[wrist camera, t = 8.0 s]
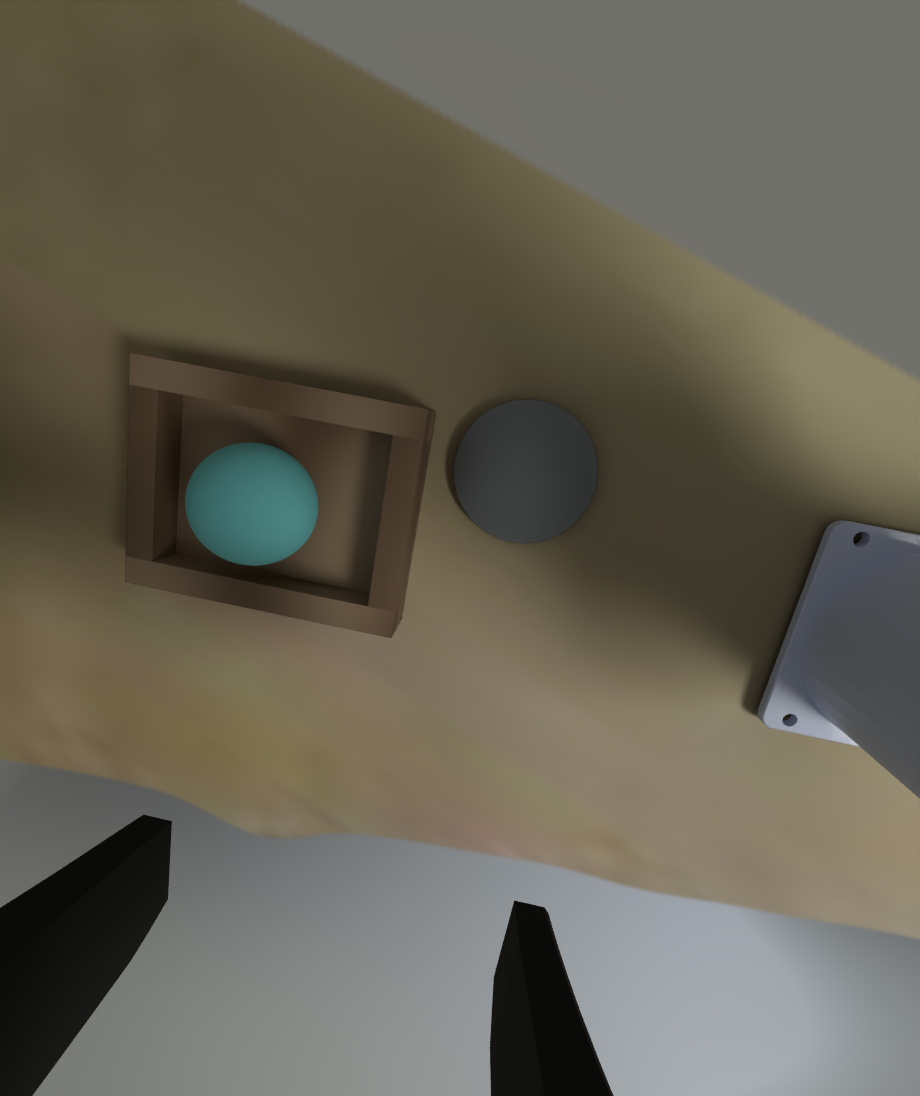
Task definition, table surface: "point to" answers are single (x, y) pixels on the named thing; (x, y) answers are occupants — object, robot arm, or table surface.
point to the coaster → (525, 471)
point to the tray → (329, 458)
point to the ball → (251, 504)
